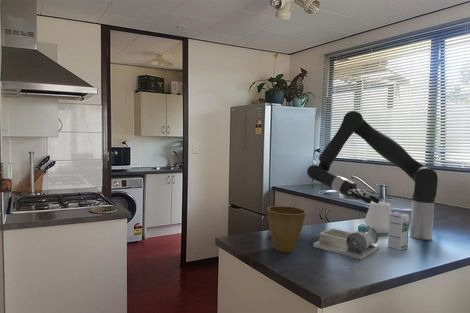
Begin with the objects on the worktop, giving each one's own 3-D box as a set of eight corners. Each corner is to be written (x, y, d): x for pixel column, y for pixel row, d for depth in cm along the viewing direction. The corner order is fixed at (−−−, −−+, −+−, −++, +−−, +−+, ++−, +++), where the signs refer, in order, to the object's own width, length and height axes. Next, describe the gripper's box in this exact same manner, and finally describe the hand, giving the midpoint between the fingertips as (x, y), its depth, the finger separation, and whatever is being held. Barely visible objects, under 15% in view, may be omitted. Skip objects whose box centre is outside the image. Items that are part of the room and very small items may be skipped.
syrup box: (400, 250, 142) (403, 215, 142) (387, 246, 147) (389, 212, 146) (407, 248, 146) (410, 214, 145) (394, 244, 150) (396, 211, 150)
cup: (362, 231, 170) (364, 203, 169) (366, 226, 182) (367, 199, 181) (392, 236, 164) (394, 207, 163) (394, 230, 176) (396, 203, 175)
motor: (334, 237, 157) (335, 214, 157) (380, 248, 144) (381, 223, 144) (312, 246, 142) (314, 221, 142) (361, 259, 129) (363, 231, 128)
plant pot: (274, 257, 128) (276, 214, 127) (260, 244, 142) (262, 206, 141) (310, 255, 132) (313, 213, 131) (293, 243, 146) (295, 205, 145)
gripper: (339, 178, 160) (371, 193, 149) (353, 179, 170) (384, 194, 159) (333, 193, 161) (364, 209, 150) (348, 193, 171) (378, 208, 160)
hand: (374, 201), depth 154 cm, fingers open, 8 cm apart
